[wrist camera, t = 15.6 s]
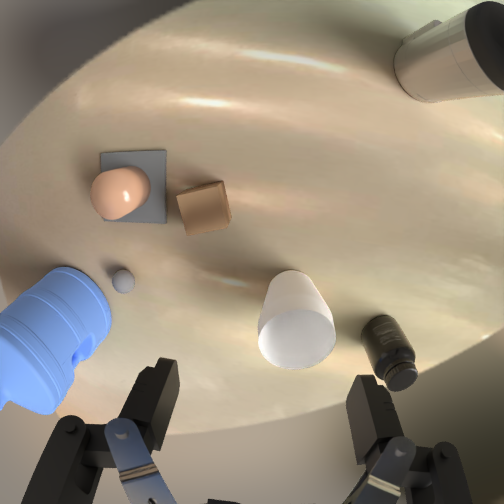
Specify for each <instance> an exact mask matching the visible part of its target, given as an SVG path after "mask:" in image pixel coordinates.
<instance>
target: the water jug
mask: <svg viewBox="0 0 504 504" xmlns="http://www.w3.org/2000/svg"><path fill="white" fill-rule="evenodd" d="M110 327H111V312H110V308H109V305H108V302H107V300H106V298H105V296H104V294H103V293H102V291H101V290H100V289H99V287H98V286H97V285H96V284H95V283H94V282H93V281H92V280H91V279H90V278H89V277H88V276H87V275H85V274H84V273H82V272H80V271H78V270H76V269H73V268H70V267H58V268H55V269H53V270H52V271H50V272H49V273H48V274H46V275H45V276H44V278H43V279H41V280H40V281H39V282H37V283H36V284H35V285H34V286H32V287H31V288H30V289H28V290H26V291H25V292H23V293H22V294H21V295H20V296H19V297H18V298H17V299H16V300H15V301H14V302H13V303H11V304H10V305H9V306H8V307H7V308H6V309H4V310H3V311H2V312H1V313H0V411H1V410H2V408H3V406H4V405H5V403H6V402H7V401H12V402H14V403H16V404H18V405H20V406H22V407H24V408H26V409H29V410H31V411H33V412H35V413H39V414H43V415H49V414H52V413H53V412H54V411H55V410H56V408H57V407H58V406H59V405H60V404H61V402H62V401H63V399H64V397H65V396H66V394H67V391H68V389H69V388H70V386H71V385H72V383H73V381H74V369H75V367H76V366H77V365H78V363H79V362H80V361H83V360H86V359H88V358H89V357H90V356H91V355H92V354H93V353H94V351H95V350H96V348H97V347H98V346H99V344H100V343H101V342H102V341H103V340H104V339H105V337H106V336H107V334H108V333H109V330H110Z"/></svg>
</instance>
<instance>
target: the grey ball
mask: <svg viewBox="0 0 504 504" xmlns="http://www.w3.org/2000/svg"><path fill="white" fill-rule="evenodd" d="M112 284H113V287H114V288H115V290H116V291H118V292H119V293H128V292H130V291H131V290H132V289H133V288H134V285H135V278H134V276H133V274H132V273H131V272H129V271H127V270H119V271H117V272H116V273H115V274H114V276H113V279H112Z"/></svg>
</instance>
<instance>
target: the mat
mask: <svg viewBox="0 0 504 504" xmlns="http://www.w3.org/2000/svg"><path fill="white" fill-rule="evenodd" d="M127 166H136V167H139V168H140V169H142V170H143V171H144V172H145V173H146V174H147V176H148V178H149V180H150V184H151V192H150V196H149V198H148V200H147V201H146V203H145V204H144V205H142V206H141V207H139V208H137V209H135V210H133V211H132V212H130V213H128V214H126V215H124V216H123V217H121V218H119V219H116V220H108V219H105V218H104V221H114V222H137V223H158V224H166V223H167V215H166V150H155V151H129V152H112V153H101V173H103V172H106V171H110V170H114V169H118V168H123V167H127Z"/></svg>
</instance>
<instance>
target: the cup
mask: <svg viewBox="0 0 504 504" xmlns="http://www.w3.org/2000/svg"><path fill="white" fill-rule="evenodd" d="M258 337H259V348H260V351H261V353H262V355H263V356H264V357H265V359H266V360H268V361H269V362H270V363H272V364H273V365H275V366H278V367H280V368H284V369H292V370H296V369H304V368H308V367H311V366H314V365H316V364H318V363H320V362H321V361H323V360H324V359H325V358H326V357H327V356H328V355H329V354H330V353H331V351H332V350H333V348H334V345H335V342H336V331H335V327H334V322H333V316H332V313H331V311H330V309H329V307H328V306H327V304H326V303H325V301H324V299H323V298H322V296H321V295H320V293H319V292H318V290H317V288H316V287H315V285H314V284H313V282H312V281H311V279H310V278H309V277H308V276H307V275H306V274H304V273H302V272H300V271H295V270H289V271H284V272H282V273H280V274H278V275H276V276H275V277H274V278H273V279H272V281H271V282H270V285H269V288H268V291H267V294H266V297H265V301H264V304H263V307H262V310H261V314H260V317H259V321H258Z"/></svg>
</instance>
